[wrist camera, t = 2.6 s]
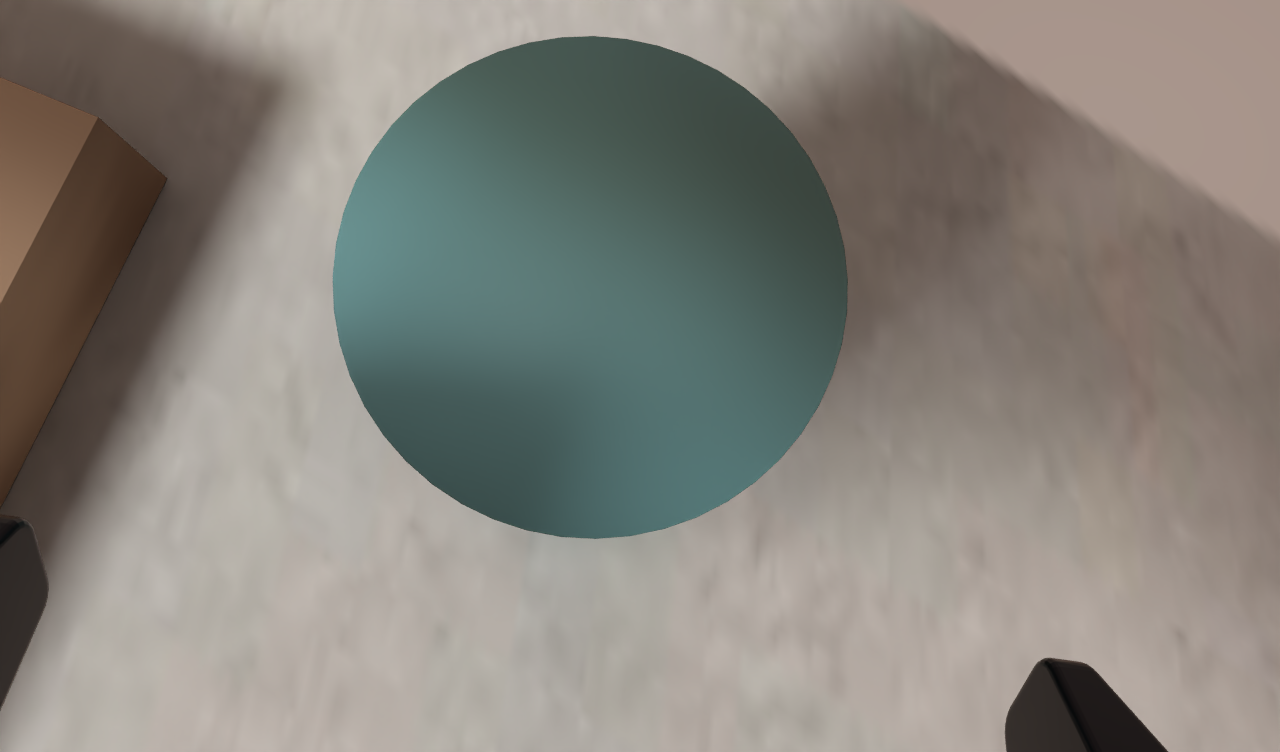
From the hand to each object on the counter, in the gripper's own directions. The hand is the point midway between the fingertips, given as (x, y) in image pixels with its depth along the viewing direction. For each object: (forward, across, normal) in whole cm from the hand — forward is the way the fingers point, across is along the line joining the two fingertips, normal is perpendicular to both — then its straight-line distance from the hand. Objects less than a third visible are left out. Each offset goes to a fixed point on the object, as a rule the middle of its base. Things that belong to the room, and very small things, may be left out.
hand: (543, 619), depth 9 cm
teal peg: (+10, 0, +5) cm, 11 cm away
